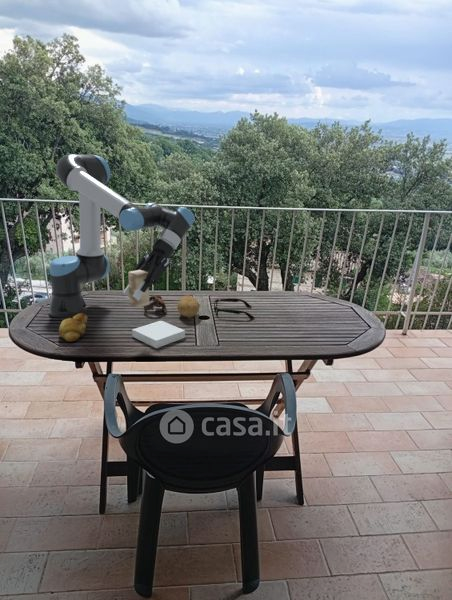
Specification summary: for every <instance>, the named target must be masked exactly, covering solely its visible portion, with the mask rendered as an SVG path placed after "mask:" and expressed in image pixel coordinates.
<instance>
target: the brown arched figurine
mask: <svg viewBox="0 0 452 600" xmlns="http://www.w3.org/2000/svg"><path fill="white" fill-rule="evenodd" d="M151 301H152V302H151ZM150 302H151V303H150ZM154 307H156V308H162V311H163V313H164V314H167V312H168V309H167V306H166V304H165V302H164V300H163V298H162V296H161V295H159V294H158V295H151V296H149V305H146V306H143V311H145V312H147V311H155V309H154Z"/></svg>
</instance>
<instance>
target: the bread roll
mask: <svg viewBox="0 0 452 600" xmlns="http://www.w3.org/2000/svg"><path fill="white" fill-rule="evenodd" d="M87 323H88V315H86V313H79V314H77V315H75V316H74V317H69V318H64V319H63V320H62V321H61V323H60V325H59V327H58V334H59V336H60V337H61V338H62V339H65V341H66V342H76V341H77V340H79V339H80V338H81V337H83V336H84V335H85V333H86V328H87Z"/></svg>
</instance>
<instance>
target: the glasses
mask: <svg viewBox="0 0 452 600" xmlns="http://www.w3.org/2000/svg"><path fill="white" fill-rule="evenodd" d="M219 302H231V303H238V302H242V304H244V305H245V306H246V308H247V307H252V305H251V304H249V303H248V302H247V301H245V300H244V299H242V298H241V299H240V298H220V299H215V300H214V302H213V310H214V314H215V313H216V315H217V316H216V317H218V316H219V313H220V312H224V313H229V314H236V315H241V314H244V315H246V316H247V317H248V318H249V319H250V320H254V319H253V318H255V317H254V315H252V314H250V313H249V312H247V311H243V310H235V309H223V308H222V309H219V308H218V303H219Z"/></svg>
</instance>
